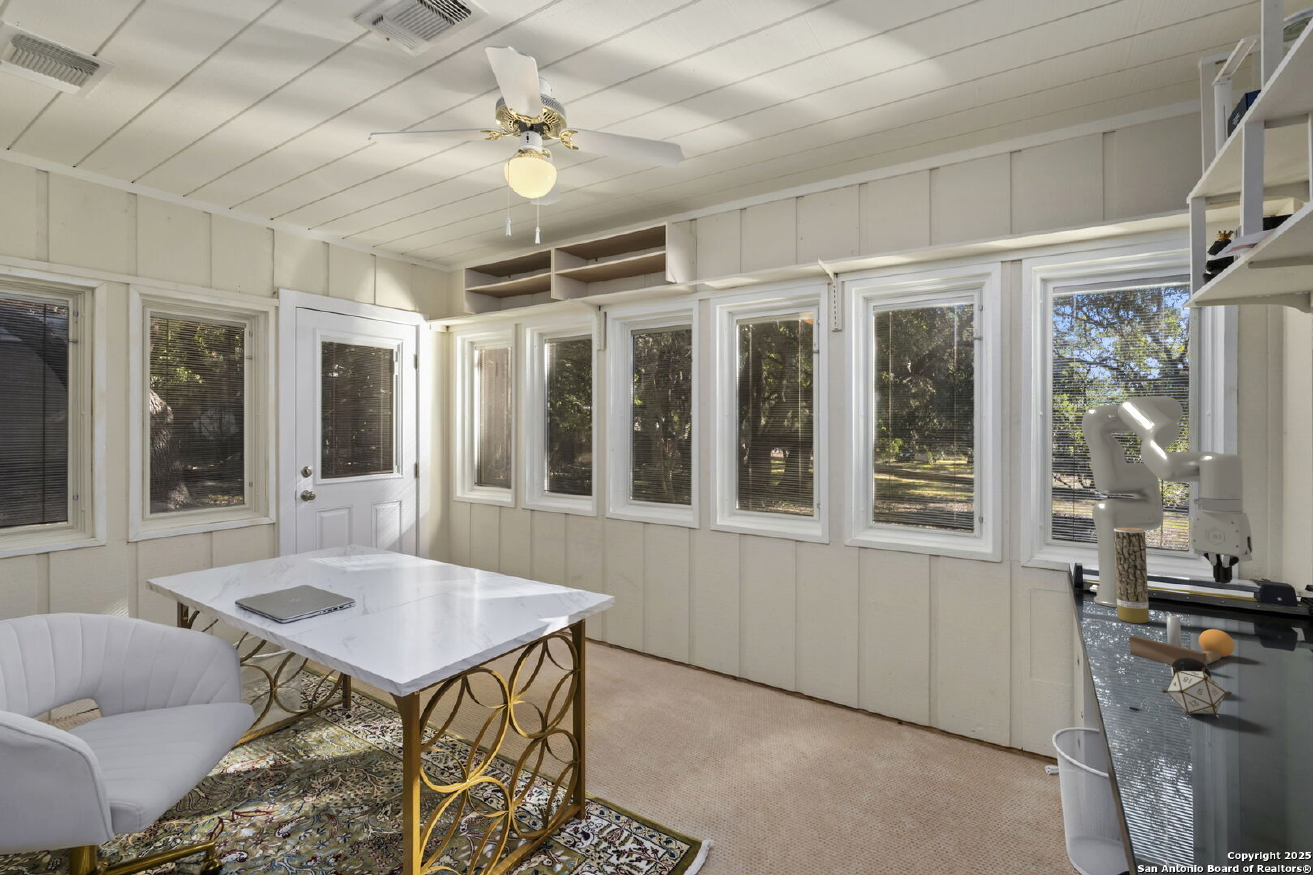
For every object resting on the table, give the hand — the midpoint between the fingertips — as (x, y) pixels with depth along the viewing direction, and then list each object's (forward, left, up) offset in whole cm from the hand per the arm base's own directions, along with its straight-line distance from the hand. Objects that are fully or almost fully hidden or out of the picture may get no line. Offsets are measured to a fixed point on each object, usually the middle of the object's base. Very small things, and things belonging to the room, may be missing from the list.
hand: (1222, 582), depth 147 cm
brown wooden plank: (+5, -24, -15) cm, 29 cm away
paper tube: (-23, 0, -15) cm, 27 cm away
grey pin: (+1, -17, -15) cm, 23 cm away
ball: (+5, -10, -12) cm, 16 cm away
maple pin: (+6, -13, -14) cm, 20 cm away
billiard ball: (+17, -34, -15) cm, 41 cm away
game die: (+26, -45, -15) cm, 54 cm away
